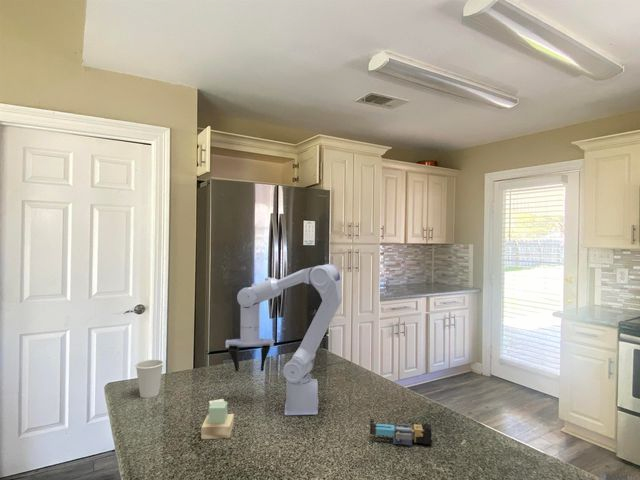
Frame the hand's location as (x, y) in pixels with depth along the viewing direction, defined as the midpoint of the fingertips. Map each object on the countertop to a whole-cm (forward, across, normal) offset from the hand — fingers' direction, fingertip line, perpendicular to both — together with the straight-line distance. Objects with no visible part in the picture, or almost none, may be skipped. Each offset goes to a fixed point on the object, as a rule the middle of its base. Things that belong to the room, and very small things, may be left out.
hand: (249, 370), depth 119 cm
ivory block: (+10, +8, +9) cm, 16 cm away
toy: (+10, -40, +25) cm, 49 cm away
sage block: (+7, +6, +18) cm, 20 cm away
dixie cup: (+10, +33, -8) cm, 35 cm away
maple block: (+10, +6, +18) cm, 21 cm away
